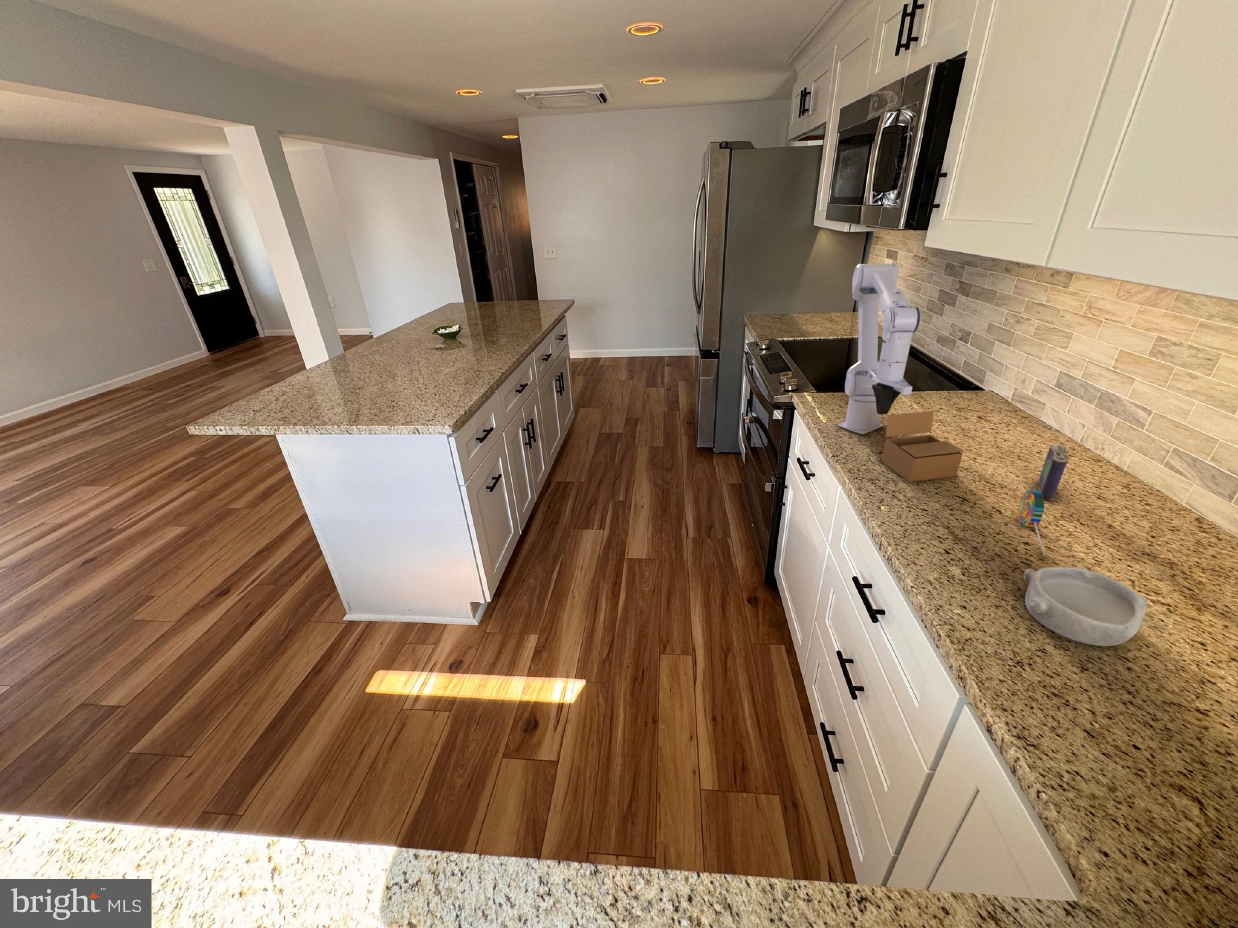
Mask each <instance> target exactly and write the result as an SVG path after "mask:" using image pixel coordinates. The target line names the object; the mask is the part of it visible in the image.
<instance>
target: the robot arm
mask: <svg viewBox="0 0 1238 928" xmlns="http://www.w3.org/2000/svg"><path fill="white" fill-rule="evenodd" d="M899 271H900V270H899V266H898V264H897V262H892V263H858V264H857V265H856V266H855V268H854V270H853V273H852V279H851V280H852V281H851V283H852V284H851V285H852V286H851V294H852V300H854V301H856V302H857V303H858V339H857V345H858V346H857V349H858V350H857V362H856V363H855V364H853V365H852V366H850V367H849V368H848V370H847V372H846V377H845V382H844V392H845V395H846V396H847V397H849V398H848V399H849V400H848V405H847V410H846V416H845V421H843V422H841V423H838V425H837V426H838V427H839V428H843V429H845V430H848V431H851V432H854V433H857V434H859V435H865V434H868V433H871V432H873V431H875V430H877V429H879V428H882V427H883V426H884V425H883V424H882V423H881V419H882V415H888V414H889V411H890V410H891V408H892V406H893V404H894V403H895V401H896V399H897V398H898V397H899V396H900V395H901V396H911V395H912V392H913V391H912V390H913V386H912V385H910V384H909V383H908V382H907V380H906V379H905V378H904V375H905V370H906V366H907V362H908V357H909V353H910V349H911V343H912V339H913V334H915V333H917V332H918V330H919V328H920V325H921V320H922V313H921V312H922V311H921V309H920V306H918V305H911V303H910V302H909V300H908V297H907V296H906V294H905V291H904V290H902V289H901V288H898V286H897V282H898V278H899V273H900V272H899ZM879 309H880V311H881V314H882V316H883V318H882V334H881V339H882V345H881V349H880V356H879V361H878V353H879V352H878V350H879V347H878V345H879Z"/></svg>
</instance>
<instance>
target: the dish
mask: <svg viewBox="0 0 1238 928" xmlns="http://www.w3.org/2000/svg"><path fill="white" fill-rule="evenodd" d="M1023 577H1024V581H1025V582H1026V583H1028V586H1027V589H1026V591H1025V595H1024V603H1025V607H1026V609H1027V611H1028V612H1029V614H1030V615H1031V616H1032V617H1033V619H1034V620H1036V621H1037V622H1038V623H1039V624H1041V625H1042V626H1044V627H1045V628H1046V629H1048V630H1050V631H1052V632H1054V633H1056V634H1057V635H1060V636H1062V637H1065V638H1066V639H1070V640H1073V641H1075V642H1078V643H1083V644H1086V645H1090V646H1098V647H1110V646H1111V647H1112V646H1118V645H1122V644H1124V643H1126V642H1128V641H1129V640H1130V639H1132V638H1133V637H1134V636H1135V635H1136V634H1137V633H1138V632H1139V630H1140V628H1141V626H1142V624H1143V622H1144V619H1145V616H1146V613H1147V610H1148V606H1149V600H1148V599H1147V597H1146V596H1145V595H1144V594H1139V593H1137V592H1136V591H1135V590H1134V589H1132V588H1131V587H1130V586H1128V585H1126V584H1124V583H1122V582H1120V581H1118V580H1117V579H1115V578H1111V577H1110V576H1108V575H1105V574H1103V573H1101V572H1097V571H1091V570H1087V569H1085V568H1082V567H1081V568H1080V567H1073V566H1072V567H1071V566H1048V567H1047V566H1046V567H1041V568H1039V569H1038V570H1035V569H1033V568H1027V569H1025V571H1024V573H1023Z"/></svg>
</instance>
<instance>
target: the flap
mask: <svg viewBox="0 0 1238 928" xmlns="http://www.w3.org/2000/svg"><path fill="white" fill-rule="evenodd" d="M886 419H887V420H886V431H885V437H886V438H889V437H890V438H891V437H897V436H898V437H899V436H907V435H908V436H909V435H917V434H927V433H928V434H929V433H932V430H933V429H932V428H933V420H934V410H928V411H927V410H925V411H917V412H916V411H915V412H907V413H899V414H898V413H897V414H889V415H888V414H887V417H886Z"/></svg>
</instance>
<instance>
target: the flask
mask: <svg viewBox="0 0 1238 928" xmlns="http://www.w3.org/2000/svg"><path fill="white" fill-rule="evenodd" d="M1067 450H1070V447H1069V446H1064V445H1060V444H1058V445H1050V446H1049V448H1048V450H1047V454H1046V457H1045V460H1044V462H1043V466H1042V468H1041V471H1040V473H1039V475H1038V479H1037V482H1036V485H1038V486H1037V489H1038V491H1040V492H1041V493H1042V495H1043V498H1044V500H1046V501H1053V500H1055V498H1056V493H1057V491H1058V487H1059V485H1060V483H1061V480H1062V477H1063V474H1064V471H1065V470H1066V467H1067V463H1068V461H1069V455H1068V452H1067Z"/></svg>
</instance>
